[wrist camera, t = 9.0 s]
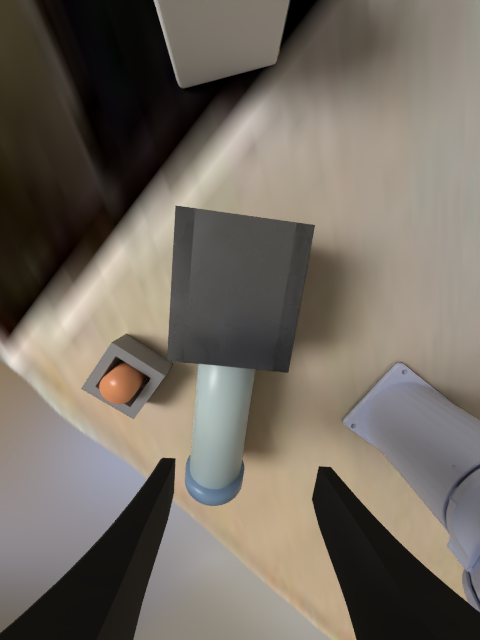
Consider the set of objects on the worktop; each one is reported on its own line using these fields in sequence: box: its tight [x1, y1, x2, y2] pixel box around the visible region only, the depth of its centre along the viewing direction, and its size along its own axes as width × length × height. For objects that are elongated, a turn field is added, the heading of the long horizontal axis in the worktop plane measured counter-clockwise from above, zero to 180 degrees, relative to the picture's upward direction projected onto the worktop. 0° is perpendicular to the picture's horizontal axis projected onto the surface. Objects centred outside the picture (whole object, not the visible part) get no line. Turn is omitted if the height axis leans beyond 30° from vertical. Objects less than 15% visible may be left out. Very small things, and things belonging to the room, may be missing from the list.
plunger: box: [99, 361, 148, 404], centre depth 18 cm, size 3×3×3 cm
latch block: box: [81, 334, 173, 419], centre depth 19 cm, size 5×5×2 cm
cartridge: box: [185, 364, 255, 506], centre depth 18 cm, size 15×5×5 cm, turn 173°
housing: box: [167, 206, 315, 372], centre depth 16 cm, size 9×7×6 cm
